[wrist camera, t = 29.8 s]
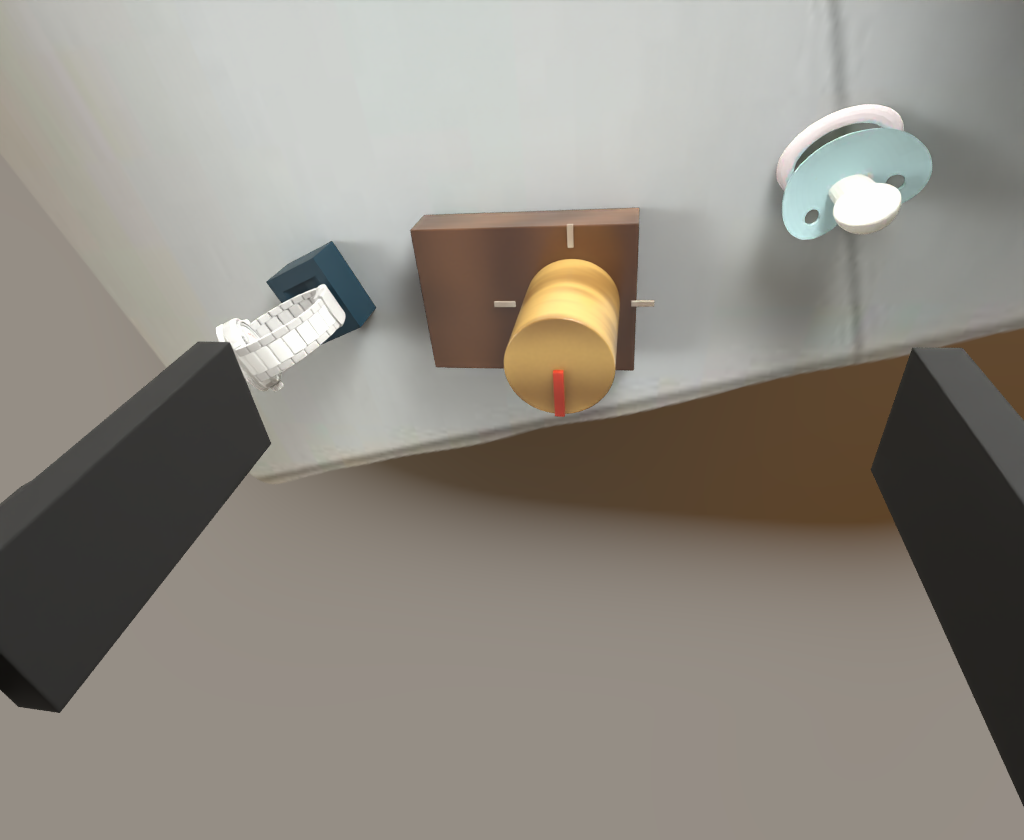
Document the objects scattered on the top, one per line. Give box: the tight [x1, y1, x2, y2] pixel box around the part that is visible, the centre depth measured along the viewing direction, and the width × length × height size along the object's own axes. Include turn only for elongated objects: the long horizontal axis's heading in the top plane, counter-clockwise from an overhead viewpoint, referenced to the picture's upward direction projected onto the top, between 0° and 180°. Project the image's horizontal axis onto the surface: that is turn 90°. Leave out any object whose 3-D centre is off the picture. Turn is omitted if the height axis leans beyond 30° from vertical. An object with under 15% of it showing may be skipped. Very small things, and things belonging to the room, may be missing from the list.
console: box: [411, 208, 654, 370], centre depth 40 cm, size 15×10×3 cm
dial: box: [504, 259, 620, 417], centre depth 35 cm, size 6×6×8 cm
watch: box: [216, 241, 376, 392], centre depth 40 cm, size 6×8×11 cm
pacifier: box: [776, 105, 932, 240], centre depth 32 cm, size 7×6×6 cm
